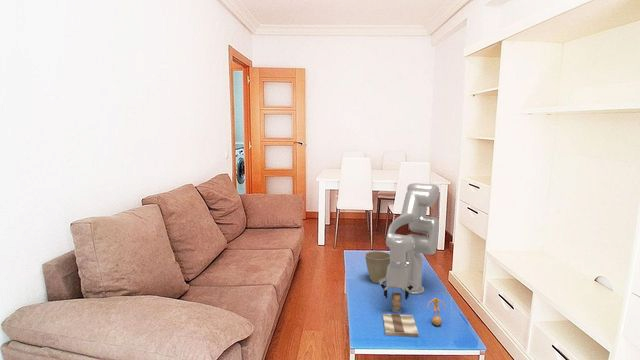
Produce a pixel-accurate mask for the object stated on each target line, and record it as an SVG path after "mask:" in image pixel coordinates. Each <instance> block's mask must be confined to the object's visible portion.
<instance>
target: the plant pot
mask: <svg viewBox="0 0 640 360" xmlns="http://www.w3.org/2000/svg"><path fill="white" fill-rule="evenodd" d="M364 256H365V263H366V267H367V268H366V269H367V272H368V276H369V278H370V280H371V282H372V283H374V284H380V283H379V280H380V279H383V278H385V277H386V273H387V267H388V265H390V253H389V252H386V251H382V250H381V251H379V250H378V251H377V250H375V251H374V250H372V251H368V252H366V253H365V254H364ZM382 283H383V284H384V282H382Z"/></svg>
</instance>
